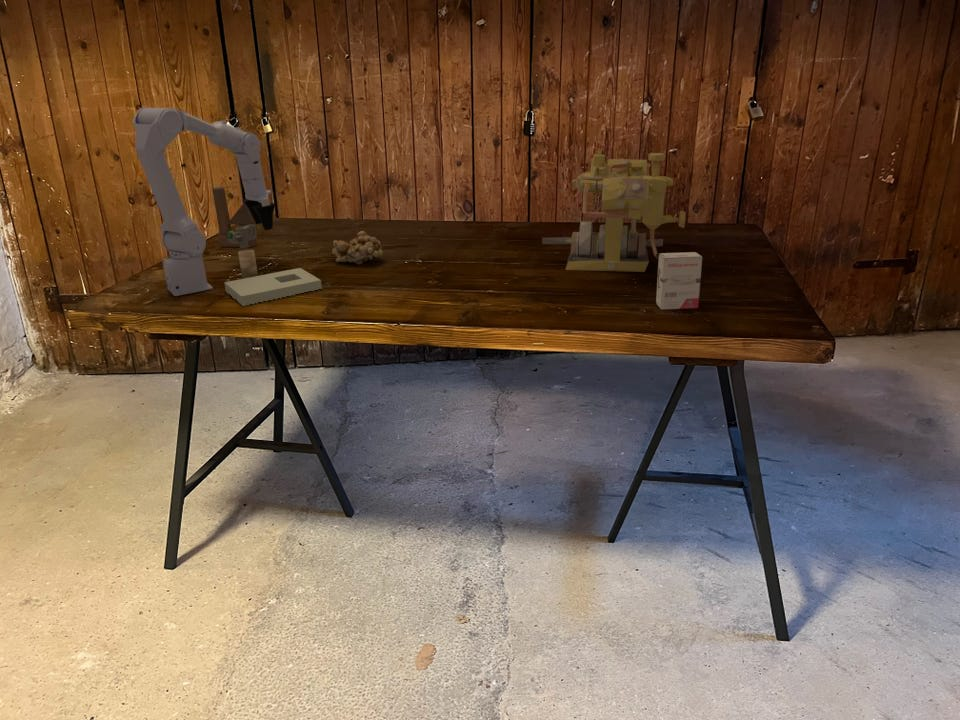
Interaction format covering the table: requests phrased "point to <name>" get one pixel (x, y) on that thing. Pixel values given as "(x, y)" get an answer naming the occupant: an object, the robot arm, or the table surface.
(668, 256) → the ink box
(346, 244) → the mineral formation
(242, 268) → the birch peg
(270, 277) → the socket board
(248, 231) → the mechanical component
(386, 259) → the table surface
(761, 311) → the table surface
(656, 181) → the mechanical engine
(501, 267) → the table surface
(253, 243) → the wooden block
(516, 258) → the table surface
